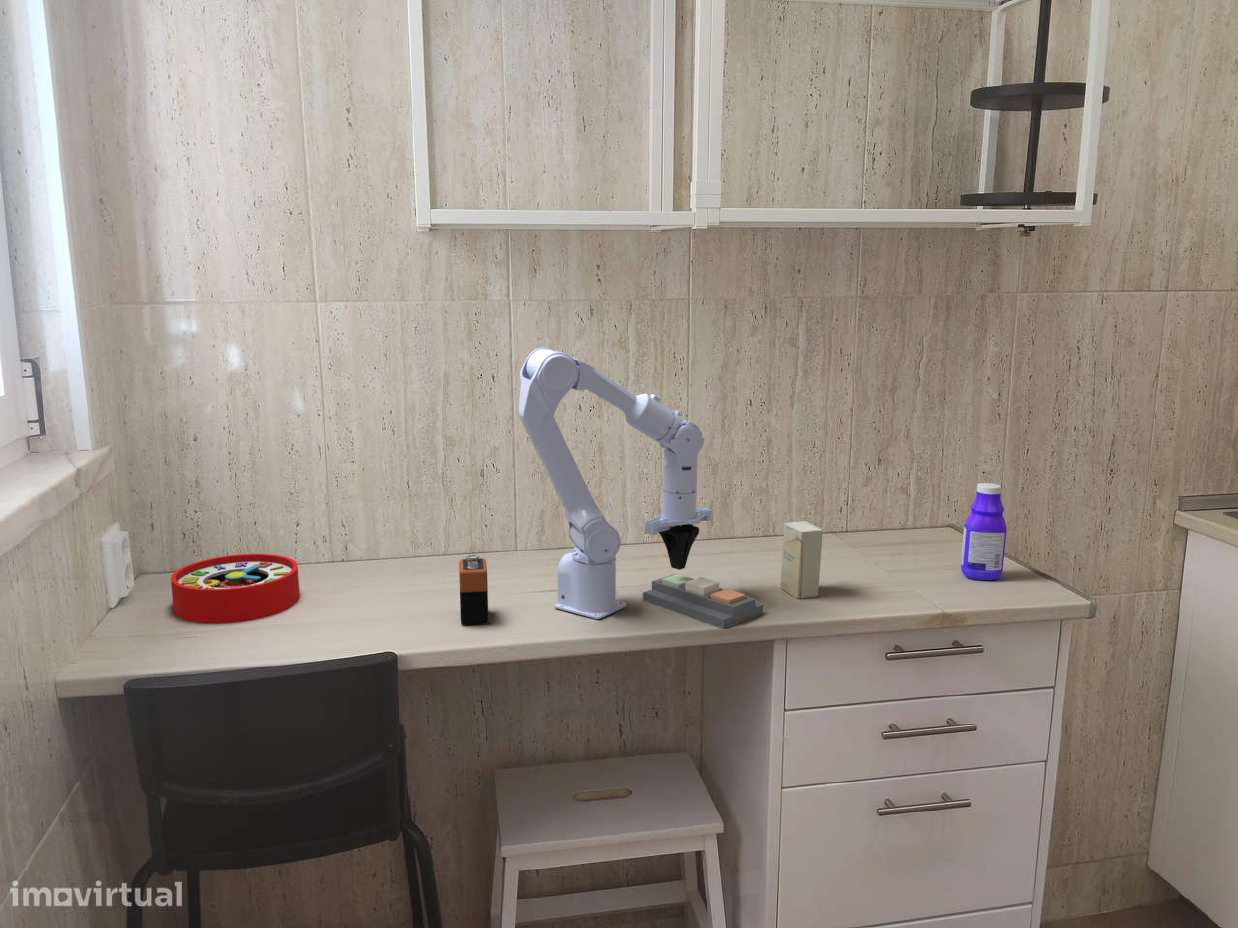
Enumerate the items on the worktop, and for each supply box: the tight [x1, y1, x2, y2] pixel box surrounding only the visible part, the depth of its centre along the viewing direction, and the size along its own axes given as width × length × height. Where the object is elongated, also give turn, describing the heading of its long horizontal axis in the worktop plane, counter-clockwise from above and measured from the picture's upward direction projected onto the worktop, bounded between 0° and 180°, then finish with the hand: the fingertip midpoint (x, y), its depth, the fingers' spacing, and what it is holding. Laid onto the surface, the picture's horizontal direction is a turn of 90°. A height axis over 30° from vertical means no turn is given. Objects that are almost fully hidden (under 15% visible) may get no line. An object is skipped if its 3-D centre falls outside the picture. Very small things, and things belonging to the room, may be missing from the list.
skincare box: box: [780, 520, 824, 600], centre depth 172 cm, size 6×4×12 cm
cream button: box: [685, 576, 720, 596], centre depth 165 cm, size 4×4×2 cm
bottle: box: [960, 482, 1008, 581], centre depth 180 cm, size 7×6×17 cm
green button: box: [662, 573, 695, 588], centre depth 169 cm, size 4×4×2 cm
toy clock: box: [170, 553, 301, 625], centre depth 166 cm, size 20×6×20 cm
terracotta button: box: [710, 588, 746, 605], centre depth 161 cm, size 4×4×2 cm
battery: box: [458, 554, 489, 626], centre depth 159 cm, size 4×7×10 cm, turn 10°
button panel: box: [642, 573, 764, 629], centre depth 165 cm, size 18×10×3 cm, turn 44°
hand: (677, 567), depth 168 cm, fingers closed
